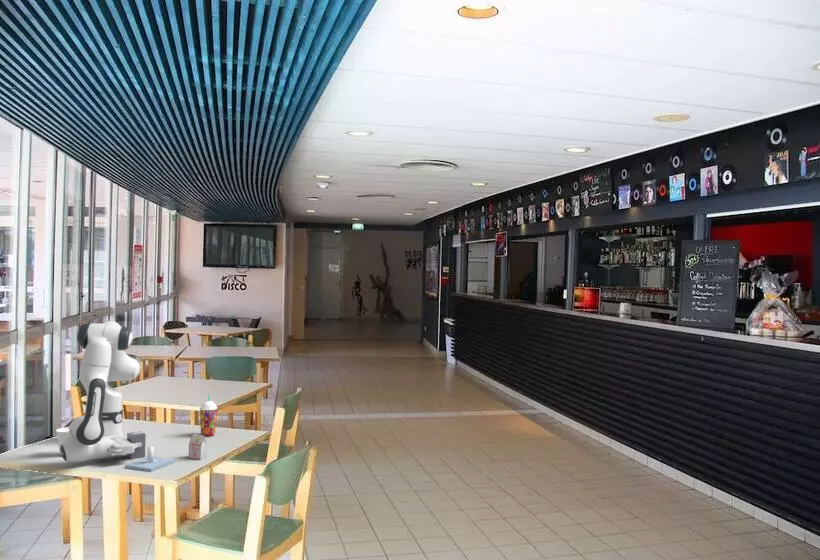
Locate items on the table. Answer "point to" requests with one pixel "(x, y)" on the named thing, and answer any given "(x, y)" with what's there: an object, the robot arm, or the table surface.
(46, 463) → the table surface
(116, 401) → the robot arm
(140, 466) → the panel
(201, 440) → the white paper bag
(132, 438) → the tall gray block
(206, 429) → the smoothie
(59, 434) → the cup
